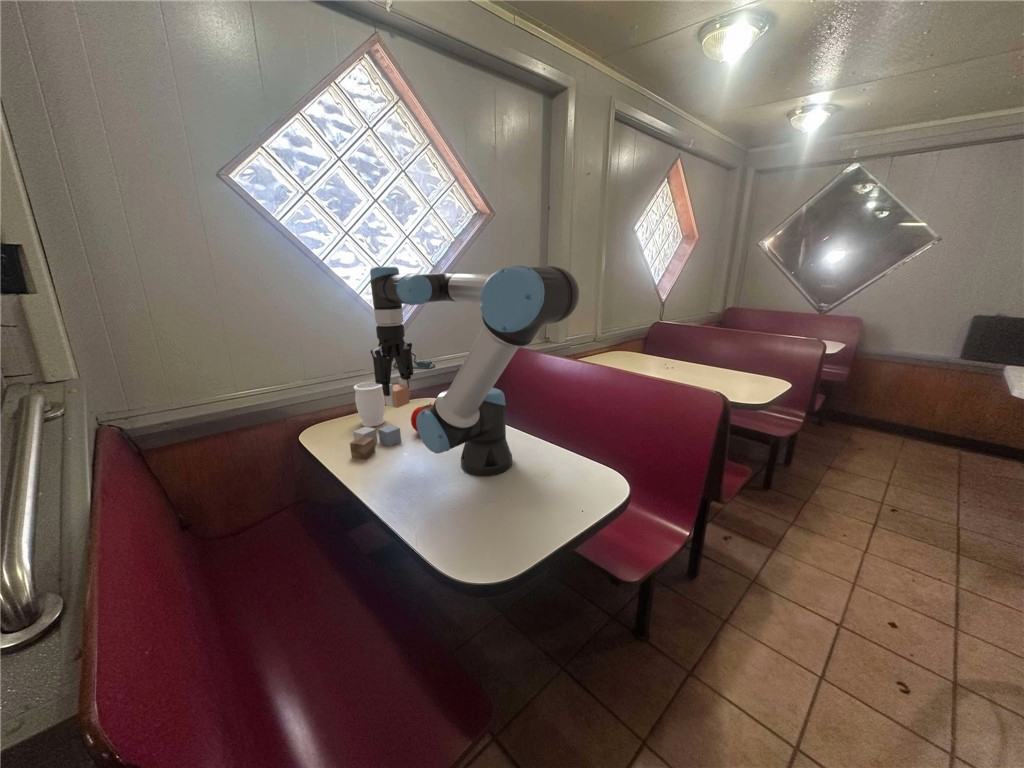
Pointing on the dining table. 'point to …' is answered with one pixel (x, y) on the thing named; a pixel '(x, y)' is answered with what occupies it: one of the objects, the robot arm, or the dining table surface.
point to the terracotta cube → (400, 395)
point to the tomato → (416, 412)
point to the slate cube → (389, 435)
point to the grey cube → (366, 433)
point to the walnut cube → (362, 447)
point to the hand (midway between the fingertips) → (397, 402)
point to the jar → (370, 403)
